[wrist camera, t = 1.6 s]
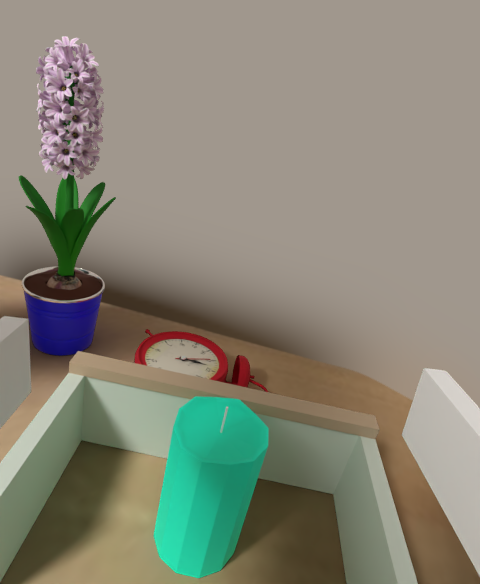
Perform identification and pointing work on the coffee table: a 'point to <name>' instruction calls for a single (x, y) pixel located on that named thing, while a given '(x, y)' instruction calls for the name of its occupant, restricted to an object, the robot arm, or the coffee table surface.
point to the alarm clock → (192, 357)
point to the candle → (208, 483)
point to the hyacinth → (66, 202)
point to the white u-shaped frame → (156, 441)
